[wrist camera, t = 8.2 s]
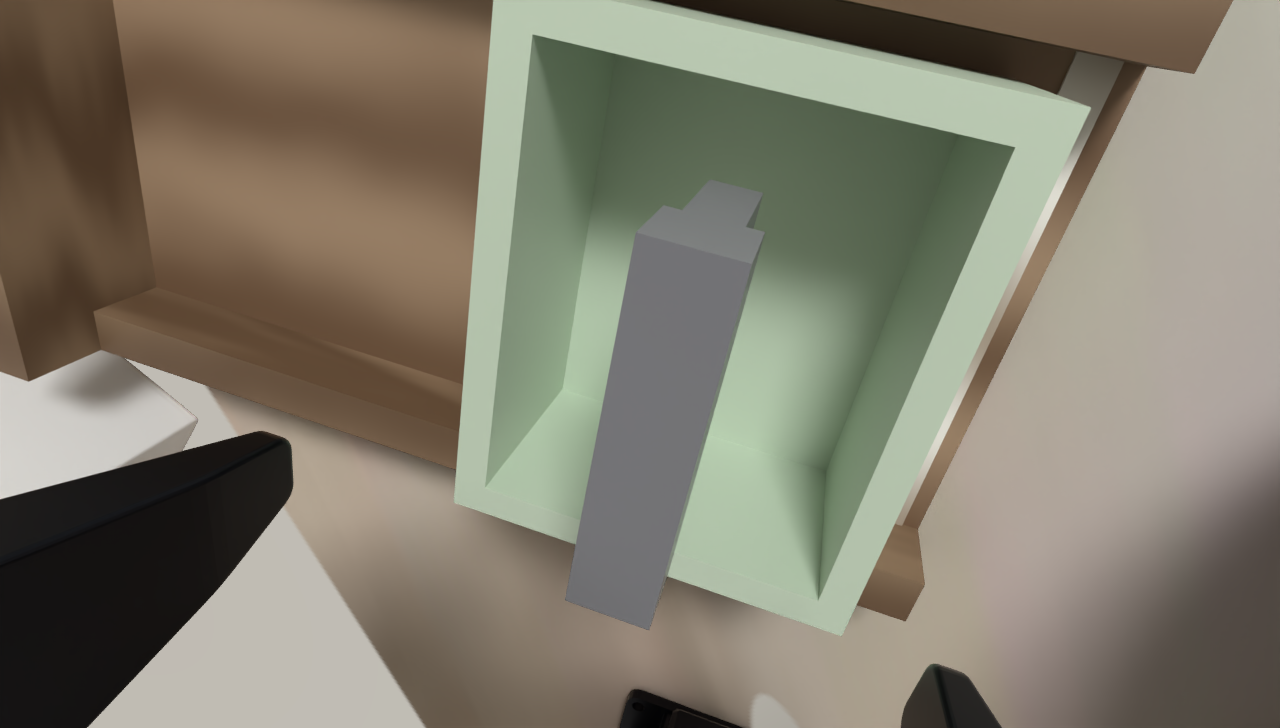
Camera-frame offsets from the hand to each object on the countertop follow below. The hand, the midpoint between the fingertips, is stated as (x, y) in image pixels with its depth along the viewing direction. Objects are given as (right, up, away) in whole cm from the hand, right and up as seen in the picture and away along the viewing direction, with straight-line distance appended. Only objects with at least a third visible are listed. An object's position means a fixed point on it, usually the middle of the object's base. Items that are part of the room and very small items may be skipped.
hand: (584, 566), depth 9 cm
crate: (+3, +5, +10) cm, 12 cm away
